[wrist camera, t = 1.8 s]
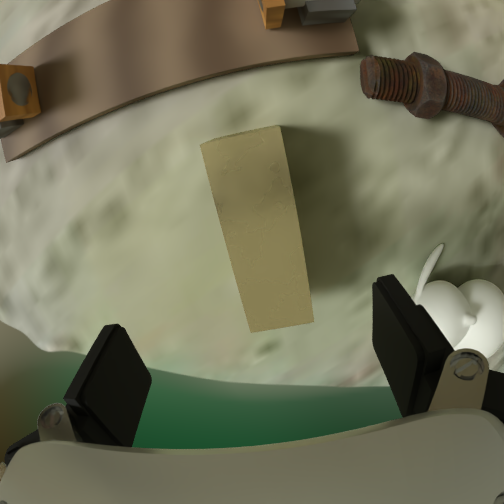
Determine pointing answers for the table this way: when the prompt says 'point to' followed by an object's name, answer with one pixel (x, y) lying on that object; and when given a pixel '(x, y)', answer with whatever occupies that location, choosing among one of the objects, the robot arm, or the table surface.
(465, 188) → the table surface
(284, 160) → the tan rectangular block
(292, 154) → the table surface
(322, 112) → the table surface
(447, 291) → the cat figurine
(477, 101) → the bolt
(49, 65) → the shaft base
